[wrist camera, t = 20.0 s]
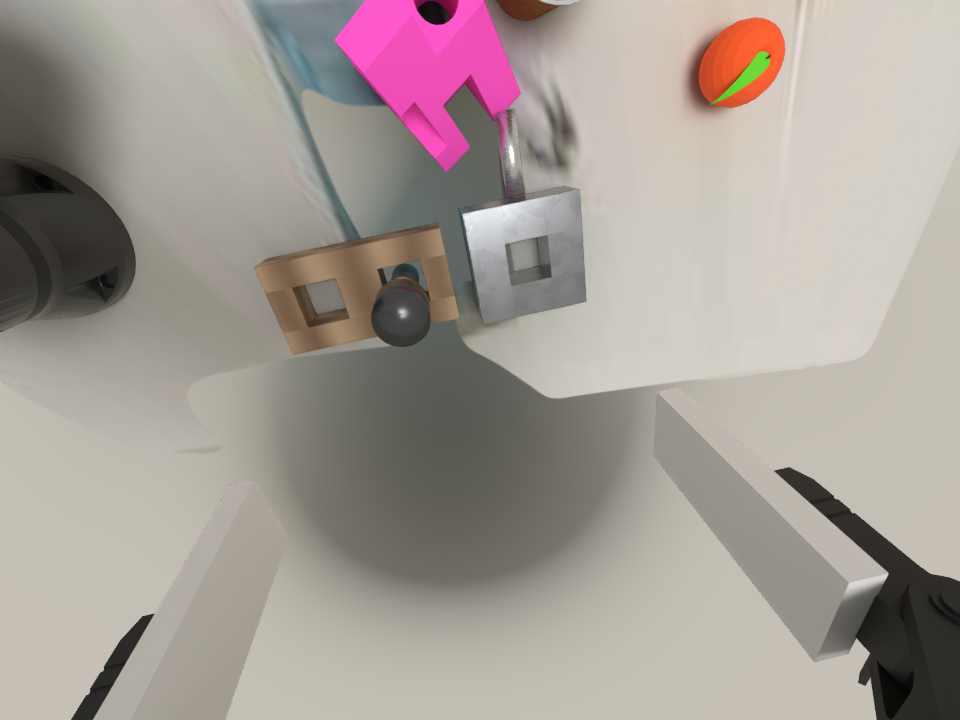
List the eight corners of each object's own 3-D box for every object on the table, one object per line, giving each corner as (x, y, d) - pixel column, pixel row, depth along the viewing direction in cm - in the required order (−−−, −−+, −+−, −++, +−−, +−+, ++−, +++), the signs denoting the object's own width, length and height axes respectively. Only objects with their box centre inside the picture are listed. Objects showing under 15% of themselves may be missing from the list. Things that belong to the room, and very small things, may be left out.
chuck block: (477, 309, 50) (483, 324, 45) (442, 125, 40) (444, 121, 36) (571, 288, 50) (586, 301, 46) (557, 101, 41) (574, 95, 36)
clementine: (699, 134, 44) (746, 131, 38) (663, 84, 41) (707, 71, 35) (760, 68, 42) (820, 53, 36) (726, 10, 39) (784, -17, 33)
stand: (302, 340, 48) (293, 354, 45) (267, 258, 44) (253, 267, 40) (456, 306, 49) (459, 318, 45) (438, 222, 44) (439, 228, 41)
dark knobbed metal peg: (390, 301, 48) (380, 352, 35) (378, 259, 45) (363, 299, 33) (431, 292, 48) (436, 339, 35) (421, 250, 45) (422, 286, 33)
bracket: (354, 68, 37) (334, 40, 28) (432, -28, 35) (436, -91, 26) (446, 172, 42) (453, 176, 33) (518, 94, 40) (548, 76, 31)
